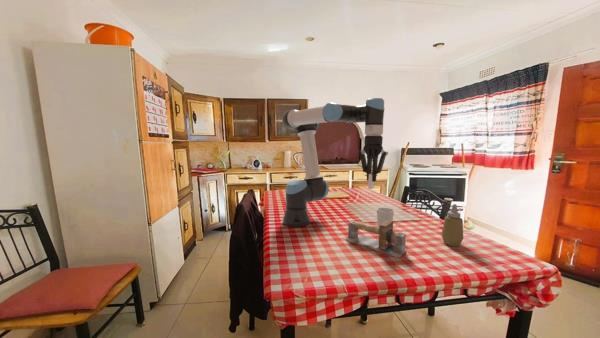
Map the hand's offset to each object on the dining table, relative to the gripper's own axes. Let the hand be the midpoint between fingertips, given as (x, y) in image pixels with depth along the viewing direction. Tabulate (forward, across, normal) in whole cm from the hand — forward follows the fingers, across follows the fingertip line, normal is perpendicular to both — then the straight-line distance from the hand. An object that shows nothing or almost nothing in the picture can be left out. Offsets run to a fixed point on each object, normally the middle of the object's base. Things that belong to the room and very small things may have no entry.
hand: (371, 188), depth 101 cm
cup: (+25, +2, +12) cm, 28 cm away
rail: (+24, +4, -4) cm, 25 cm away
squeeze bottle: (+24, +29, +21) cm, 43 cm away
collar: (+23, +9, -3) cm, 25 cm away
